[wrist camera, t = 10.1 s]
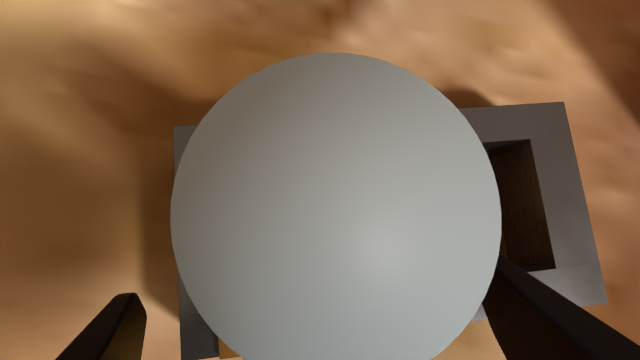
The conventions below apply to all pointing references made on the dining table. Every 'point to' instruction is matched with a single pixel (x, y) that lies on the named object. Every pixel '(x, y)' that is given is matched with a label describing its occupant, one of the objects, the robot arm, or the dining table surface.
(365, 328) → the peg
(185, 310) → the grey boxy holed piece
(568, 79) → the dining table surface
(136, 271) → the dining table surface
